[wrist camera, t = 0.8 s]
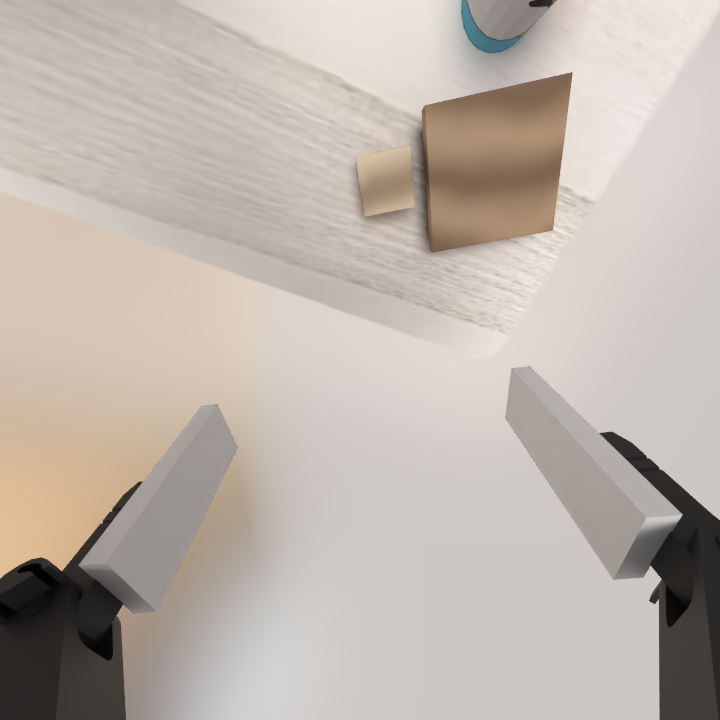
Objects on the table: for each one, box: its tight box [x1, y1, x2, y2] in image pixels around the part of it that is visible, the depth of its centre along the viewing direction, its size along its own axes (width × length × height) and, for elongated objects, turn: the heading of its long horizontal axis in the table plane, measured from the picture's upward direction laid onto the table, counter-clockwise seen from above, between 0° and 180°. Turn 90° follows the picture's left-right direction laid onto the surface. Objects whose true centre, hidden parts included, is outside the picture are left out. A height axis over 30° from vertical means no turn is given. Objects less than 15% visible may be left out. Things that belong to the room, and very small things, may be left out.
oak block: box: [355, 145, 415, 217], centre depth 30 cm, size 5×5×5 cm
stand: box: [421, 72, 573, 252], centre depth 29 cm, size 12×12×5 cm
